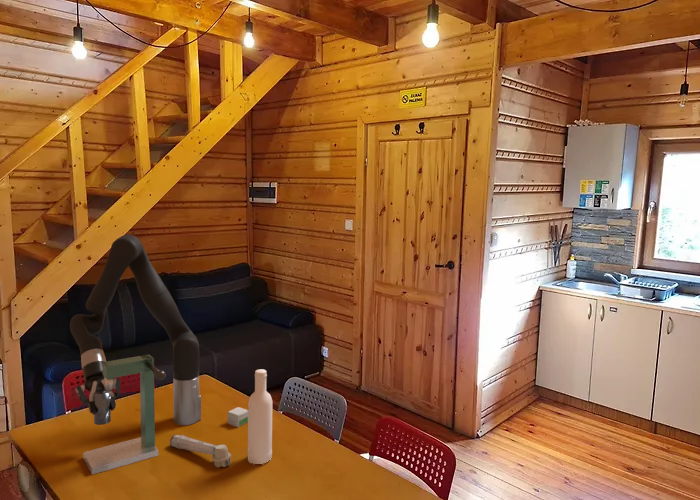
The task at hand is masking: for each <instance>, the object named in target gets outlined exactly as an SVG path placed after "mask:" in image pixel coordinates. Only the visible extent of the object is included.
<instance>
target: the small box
mask: <svg viewBox="0 0 700 500" xmlns="http://www.w3.org/2000/svg"><path fill="white" fill-rule="evenodd" d="M247 422H248V409H246V408H244V407H243V408H242V407H240V406H238V407H235V408H233V409H231V410H229V411H227V424H228V425H230V426H233V427H235V428H241V425H242V426H244V425H245V424H247Z"/></svg>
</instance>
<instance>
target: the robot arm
mask: <svg viewBox="0 0 700 500" xmlns="http://www.w3.org/2000/svg"><path fill="white" fill-rule="evenodd" d="M106 259H107V260H106V263H105V265H104V267H103V270H102V272H101V274H100V275H99V276H100V277H99V278H98V280H97V282H96V284H95V286H94V288H93V290H91V292H90V295H89V297H88V298H87V300H86V303H85V309H86V310H87V311H89V312H91V313H93V314H92V315H90V314H82V313H81V314H80V313H79V314H75V315H74V316H73V317H71V319H70V322H69V330H70V334H72V336H73V339H74V340H75V343H76V344H77V346H78V347H79V352H80V358H81V359H80V362H81V370H82V374H83V379H84V380H83V381H84V383H83V384H82V385H76V387H75V393H76V394H77V397H78V398H79V401H80V403H81V404H82V405H88V409H89V413H90V414H91V415H93V416H94V414H96V409H95V404H94V395H93V393H94V392H96V391H98V390H106V389H105V383H104V376H103V373H102V362H107V359H106V358H107V357H106V356H105V352H104V349H103V343H102V340H101V338H100V337H98V336H96V335H98V334H99V333H101V331H102V329H103V327H104V321H105V317H106V313H107V309H108V307H109V306H110V303H111V302H112V300H113V297H114V296H115V293H116V291H117V287H118V286H119V282H120V280H121V278H122V276H123V275H124V273H125V272H126V270H127V268H129V269H130V271H131V272H132V275H133V277H134V280H135V283H136V286H137V290H138V294H139V295H140V297H141V300H142V301H143V303H144V305H145V307H146V308H147V310H148V311H149V313H150V314H151V315H152V317H153V318H155V320H156V321H157V322H158V323H159V324H160V325H161V326H162V328H163V329H164V330H165V332H166V334H167V335H168V338H169V339H170V342H171V344H172V359H173V361H172V362H173V363H172V366H173V367H172V369H173V371H172V373H173V374H172V375H173V376H172V377H173V379H172V380H173V383H172V384H173V385H172V386H173V389H172V390H173V422H174V424H175V425H178V426H189V425H193V424H195V423H197V422H198V421H202V396H201V394H200V344H199V340H198V338H197V336H196V335H195V334H194V333H193V331H192V330H191V329H190V327H189V326H188V324H186V322H185V321H184V318H183V317H182V315H181V313H180V311H179V308H178V306H177V304H176V302H175V300H174V298H173V296H172V295H171V293H170V291H169V290H168V288H167V286H166V285H165V283H164V282H163V280H162V278H161V277H160V275H159V274H158V273H157V270H156V269H155V267H154V266H153V265H152V263H151V261H150V259H149V257H148V255H147V252H146V250H145V248H144V246H143V243H142V242H141V240H140V239H139V238H138V237H137V236H135V235H133V234H128V233H127V234H123V235H121V236H119V237H118V238H116V239H115V240H114V241H113V242H112V244H111V247H110V250H109V253H108V256H107V258H106ZM85 389H86V391H88V392H89V396H88V398H87V396H86V395H85V392H84V391H85ZM113 392H114V393H113ZM120 392H121V378H120V377H116V378H115V388H114V391H112V389H111V390H110V401H111V411H114V410H115V409H116V408H117V407H116V406H117V404H116V400H115V399H116V398H119V397H120V396H119V395H120V394H121V393H120Z"/></svg>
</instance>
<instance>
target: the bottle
mask: <svg viewBox="0 0 700 500" xmlns="http://www.w3.org/2000/svg"><path fill="white" fill-rule="evenodd" d="M254 372H255V373H254V391H253V393H251V395H250V396H249V398H248V407H247V408H248V409H247V410H248V425H247V462H249V463H250V464H252V463H253V464H252V465H255V464H262V465H264V464H263V463H266V462H268V461H269V460H270V461H271V460H272V459H271V458H272V456H273V399H272V398H273V397H272V396H271V394H270V393H269V392H268V391H267V377H268V374H267V370H266V369H263V368H262V369H261V368H260V369H256V370H255V371H254ZM270 461H269V462H270ZM269 462H268V463H269ZM266 464H267V463H266Z"/></svg>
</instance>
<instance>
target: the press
mask: <svg viewBox="0 0 700 500" xmlns="http://www.w3.org/2000/svg"><path fill="white" fill-rule="evenodd" d="M102 373H103V376H104V383H105V389H106V390H111V391H112V390H115V379H116V378H120V377H121V378H122V377H125V376H130V375H131V376H132V375H136V374H139V387H140V389H139V391H140V392H139V393H140V395H139V396H140V397H139V398H140V400H139V401H140V437H139V436H138V437H136V438H133V439H129V440H125V441H121V442H117V443H114V444H110V445H106V446H102V447H98V448H95V449H91V450H87V451H84V452H82V454H83V455H82V456H83V460H84V462H85V464H86V465H87V468H88V470H89V472H90V474H91V475H96V474H99V473H102V472H107V471H110V470H115V469H117V468H121V467H124V466H127V465H131V464H133V463H138V462H141V461H144V460H147V459H151V458H155V457H158V456H159V449H158V447H157V445H156V430H155V429H156V428H155V427H156V426H155V425H156V424H155V423H156V420H155V418H156V417H155V414H156V413H155V412H156V411H155V379H156V380H157V381H162V380H164V379H165V378H166V376H167V374H166V372H165V371H164V370H163V369H162V370H161V369H160V370H159V369H158V368H157V367H156V365H155V358H154V357H153V356H152V355H150V354H144V355H138V356H133V357H132V356H131V357H126V358H120V359H114V360H108V361H107V360H106V362H102Z"/></svg>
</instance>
